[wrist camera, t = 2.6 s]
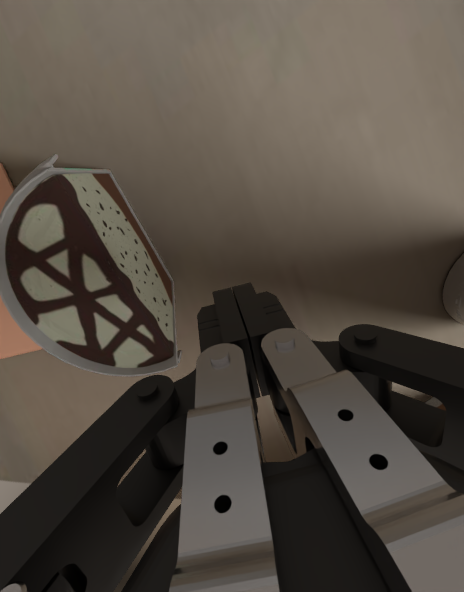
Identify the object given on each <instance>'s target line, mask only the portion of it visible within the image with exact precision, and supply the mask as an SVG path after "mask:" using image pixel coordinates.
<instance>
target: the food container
mask: <svg viewBox="0 0 464 592" xmlns="http://www.w3.org/2000/svg"><path fill="white" fill-rule="evenodd" d="M57 158H58V156H57V154H54V155H53V156H51V157H50V158H48V159H47V160H45V161H43V162H42V163H40V164H39V165H38V166H37V167H36V168H35V169H34V170H33V171H32V172H31V173H29V174H28V175H27V176H26V177H25V178H24V179H23V180H22V181H21V183H20V184H19V185H18V186H17V187H16V188H15V190H14V191H13V193H12V194H11V195H10V197H9V198H8V200H7V201H6V202H5V205H4V207H3V209H2V211H1V214H0V296H1V299H2V301H3V303H4V304H5V306H6V308H7V310H8V312H9V313H10V315H11V317H12V318H13V319H14V321H15V322H16V323H17V324H18V326H19V327H20V328H21V330H22V331H23V332H24V333H25V334H26V335H27V336H28V337H30V338H31V339H32V340H33V341H34V342H35V343H36V344H37V345H39V346H40V347H41V348H43V349H44V350H45V351H47V352H48V353H49V354H51V355H53V356H55V357H56V358H58V359H60V360H62V361H64V362H66V363H68V364H70V365H73V366H75V367H78V368H80V369H83V370H87V371H91V372H94V373H98V374H105V375H112V376H142V375H150V374H154V373H159V372H163V371H166V370H169V369H172V368H175V367H177V365H178V363H180V359H181V354H182V351H181V350H179V351H177V334H176V313H175V293H174V281H173V279H172V277H171V275H170V274H169V272H168V270H167V268H166V267H165V265H164V263H163V261H162V260H161V258H160V256H159V254H158V253H157V251H156V249H155V248H154V246H153V244H152V242H151V241H150V239H149V237H148V235H147V234H146V232H145V230H144V228H143V227H142V225H141V223H140V221H139V220H138V218H137V216H136V214H135V213H134V211H133V209H132V207H131V206H130V204H129V202H128V200H127V199H126V197H125V195H124V193H123V192H122V190H121V188H120V187H119V185H118V183H117V181H116V180H115V178H114V176H113V174H112V173H111V171H110V169H82V168H54V166H53V163H54V162H55V161H56V159H57Z"/></svg>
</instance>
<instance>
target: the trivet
mask: <svg viewBox="0 0 464 592" xmlns="http://www.w3.org/2000/svg"><path fill="white" fill-rule="evenodd" d="M14 190H15V189H14V187H13V185H12V183H11V181H10V179H9V177H8V175H7V173H6V171H5V169H4V167H3V165H2V163H0V214H1V211H2V209H3V207H4V205H5V202H6V201H7V200H8V198H9V197H10V195H11V194H12V193H13V191H14ZM40 349H43V348H41V347H40V346H39V345H37V344H36V343H35V342H34V341H33V340H32V339H31V338H30V337H28V336H27V335H26V334H25V333H24V332H23V331H22V330H21V328H20V327H19V326H18V324H17V323H16V322H15V321H14V319H13V318H12V317H11V315H10V313H9V312H8V310H7V308H6V306H5V304H4V303H3V301H2V299H1V296H0V359H2V358H7V357H11V356H15V355H19V354H23V353H27V352H32V351H36V350H40Z"/></svg>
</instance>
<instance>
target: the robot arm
mask: <svg viewBox="0 0 464 592" xmlns="http://www.w3.org/2000/svg"><path fill="white" fill-rule="evenodd" d="M232 289H233V293H232V290H231V288H227V289H223V290H218V291H214V292H213V297H214V302H215V304H214V305H210V306H206V307H202V308H201V310H200V312H199V313H198V315H197V319H198V329H199V339H200V349H201V354H200V355H199V357H198V359H197V363H196V369H195V370H194V371H193V372H192V373H190V374H189V375H187V376H186V377H184V378H182V379H180V380H178V381H176V382H174V383H173V381H172V380H171V379H170V378H169V377H167V376H163V375H154V376H149V377H146V378H144V379H142V380H140V381H138V382H136V383H135V384H134V385H133V386H131V387H130V388H129V389H128V390H127V391H126V392H125V393H124V394H123V395H122V396H121V397H120V398H119V399H118V400H117V401H116V402H115V403H114V404H113V405H112V406H111V407H110V408H109V409H108V410H107V411H106V412H105V413H104V414H103V415H102V416H101V417H99V418H98V419H97V420H96V421H95V422H94V423H93V424H92V425H91V426H90V427H89V428H88V429H87V430H86V431H85V432H84V433H83V434H82V435H81V436H80V437H79V438H78V439H77V440H76V441H75V442H74V443H73V444H72V445H71V446H70V447H69V448H68V449H67V450H66V451H65V452H64V453H63V454H62V455H60V456H59V457H58V458H57V459H56V460H55V461H54V462H53V463H52V464H51V465H50V466H49V467H48V468H47V469H46V470H45V471H44V472H43V473H42V474H41V475H40V476H39V477H38V478H37V479H36V480H35V481H34V482H33V483H32V484H31V485H30V486H29V487H28V488H27V489H26V490H25V491H24V492H23V493H21V495H20V496H18V497H17V498H16V499H15V500H14V501H13V502H12V503H11V504H10V505H9V506H8V507H7V508H6V509H5V510H4V511H3V512H2V513H1V514H0V592H113V591H114V590H115V588H116V587H117V585H118V583H119V582H120V580H121V579H122V577H123V576H124V574H125V573H126V571H127V570H128V568H129V567H130V565H131V564H132V562H133V561H134V559H135V558H136V556H137V554H138V553H139V551H140V550H141V548H142V546H143V545H144V544H145V542H146V541H147V539H148V538H149V536H150V535H151V533H152V531H153V530H154V528H155V527H156V525H157V524H158V522H159V521H160V519H161V518H162V516H163V515H164V513H165V512H166V510H167V509H168V507H169V506H170V504H171V503H172V501H173V500H174V498H175V497H176V495H177V494H178V492H179V490H180V489H181V487H182V500H181V504H180V505H179V506H178V507H177V508H176V509H175V510H174V511H173V512H172V513H171V515H170V516H169V517H168V518H167V520H166V521H165V522H164V524H163V525H162V526H161V528H160V529H159V531H158V532H157V534H156V535H155V537H154V539H153V541H152V542H151V544H150V545H149V547H148V549H147V550H146V552H145V554H144V555H143V557H142V558H141V560H140V562H139V563H138V565H137V567H136V568H135V570H134V572H133V573H132V575H131V577H130V578H129V580H128V581H127V583H126V585H125V586H124V588H123V590H122V591H121V592H464V348H460V347H456V346H452V345H449V344H445V343H441V342H437V341H433V340H429V339H425V338H421V337H417V336H414V335H410V334H406V333H402V332H398V331H394V330H390V329H386V328H382V327H378V326H374V325H367V324H362V325H354V326H351V327H348V328H346V329H345V330H343V331H342V332H341V333H340V335H339V341H332V342H318V341H312V340H310V338H309V337H308V336H307V335H306V334H305V333H304V332H303V331H301V330H298V329H295V327H294V325H293V324H292V322H291V320H290V319H289V317H288V315H287V314H286V312H285V310H284V309H283V307H282V305H281V304H280V302H279V300H278V299H277V297H276V296H275V295H273V294H271V293H269V292H263V293H259V294H256V292H255V290H254V288H253V286H252V284H251V283H247V284H243V285H239V286H235V287H232ZM233 294H234V295H233ZM443 303H444V307H445V309H446V311H447V312H448V314H449V315H450V316H451V317H452V318H454V319H455V320H456V321H458V322H459V323H461V324H462V325H464V253H463V254H462V256H461V257H460V258H459V259H458V260H457V261H456V263H455V264H454V266H453V267H452V269H451V270H450V272H449V274H448V276H447V279H446V281H445V284H444V289H443ZM256 378H257V379H256ZM257 381H258V383H257ZM392 382H394V383H397V384H400V385H403V386H406V387H408V388H411V389H414V390H417V391H420V392H422V393H425V394H428V395H431V396H433V397H435V398H436V399H438V400H439V401H440V402H441V403H442V404H443V405H444V406H445V408H446V410H442V409H439V408H437V407H434V406H431V405H429V404H426V403H423V402H421V401H418V400H415V399H413V398H410V397H407V396H405V395H402V394H399V393H397V392H394V391H392ZM258 384H259V387H260V390H261V394H262V396H265V395H269V394H270V397H271V400H272V405H273V410H274V414H275V417H276V419H277V421H278V424H279V426H280V428H281V430H282V433H283V435H284V437H285V439H286V441H287V444H288V446H289V448H290V450H291V453H292V455H293V457H294V460H292V461H288V462H266V460H265V454H264V449H263V443H262V437H261V432H260V426H259V421H258V416H257V413H258V406H257V402H256V398H258V397H260V393H259V388H258ZM144 449H145V450H146V453H145V454H144V455H143V456H142V458H141V459H140V460H139V461H138V463H137V464H136V465H135V466H134V468H133V469H132V470H131V471H130V473H129V474H128V475H127V476H126V477H125V479H124V480H123V481H122V482H121V484H120V485H119V486H118V483H119V481H120V479H121V477H122V476H123V475H124V473H125V472H126V471H127V470H128V469H129V467H130V466H131V465H132V464H133V463H134V461H135V460H136V459H137V458H138V456H139V455H140V454H141V453H142V452H143V450H144ZM117 486H118V487H117Z"/></svg>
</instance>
